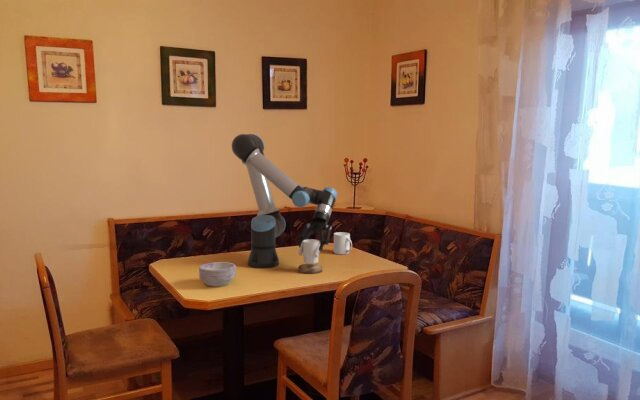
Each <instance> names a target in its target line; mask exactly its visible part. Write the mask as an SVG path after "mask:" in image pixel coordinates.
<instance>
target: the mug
mask: <svg viewBox="0 0 640 400" xmlns="http://www.w3.org/2000/svg"><path fill="white" fill-rule="evenodd" d="M352 242H353V241H352V240H351V233H349V232H344V231H343V232H341V231H339V232H337V231H336V232H334V233H333V254H334V255H338V254H339V255H340V256H344V255H345V256H346V255H349V254H350V252H351V251H352V249H353V243H352Z"/></svg>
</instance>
